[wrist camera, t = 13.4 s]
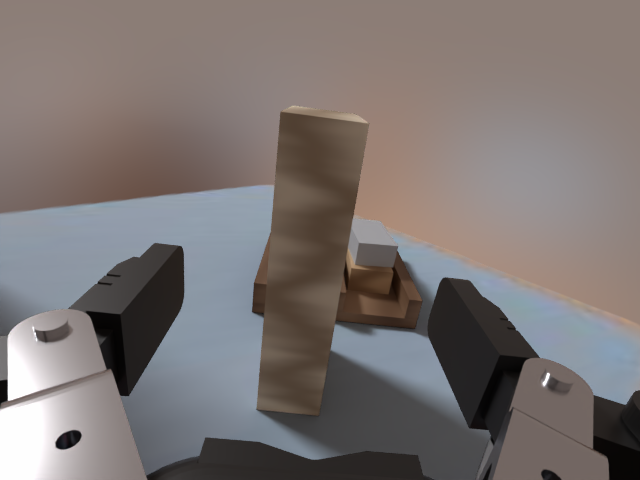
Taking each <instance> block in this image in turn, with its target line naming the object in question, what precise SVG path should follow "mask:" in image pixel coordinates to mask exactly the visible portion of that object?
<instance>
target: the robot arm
mask: <svg viewBox="0 0 640 480" xmlns="http://www.w3.org/2000/svg"><path fill="white" fill-rule="evenodd" d="M183 299H184V253H183V248H182V247H181V246H176V245H167V244H159V243H154V244H153V245H152V246H151V247H150V248H149V249H148V250H147V251H146V252H145V253H144V254H143V255H142V256H141V257H140V258H139V257H132V258H130V259H128V260H126V261H124V262H121V263H119V264H117V265H116V266H115V267H114V268H113V269H112V270H110V271H109V272H108V273H107V276H104V277H103V278H102V279H100V280H99V281H98V284H95V285H94V286H93V287H92V288H91V289H89V290H88V291H87V292H86V293H85V294H84V295H83V296H82V297H81V298H79V299H78V300H77V301H76V302H75V303H74V304H73V305H72V306H71V307H69V308H68V309H60V310H52V311H47V312H43V313H40V314H37V315H34V316H32V317H30V318H27V319H26V320H24V321H22V322H21V323H19V324H18V325H16V326H15V327H14V328H13V329H12V330H11V331H10V333H9V335H8V336H0V480H434V479H432V478H429V477H427V476H424V475H423V473H422V469H421V466H420V462H419V458H418V455H406V454H395V453H383V452H371V451H365V452H360V453H354V454H348V455H343V456H337V457H331V458H326V459H320V460H311V459H307V458H304V457H301V456H298V455H295V454H293V453H290V452H287V451H284V450H281V449H278V448H275V447H272V446H269V445H266V444H263V443H260V442H252V441H241V440H229V439H217V438H205V441H204V444H203V447H202V450H201V453H200V456H198V457H192V458H188V459H185V460H181V461H178V462H175V463H172V464H170V465H167V466H165V467H162V468H160V469H159V470H157V471H155V472H153V473H151V474H149V475H147V476H146V475H145V471H144V468H143V465H142V462H141V459H140V456H139V453H138V450H137V447H136V444H135V441H134V438H133V434H132V431H131V428H130V425H129V422H128V419H127V416H126V413H125V410H124V407H123V404H122V400H121V397H120V395H121V396H129V395H130V393H131V391H132V390H133V388H134V386H135V385H136V383H137V382H138V380H139V378H140V377H141V375H142V373H143V372H144V370H145V368H146V367H147V365H148V363H149V362H150V360H151V358H152V357H153V355H154V353H155V352H156V350H157V348H158V347H159V345H160V343H161V342H162V340H163V338H164V337H165V335H166V333H167V332H168V330H169V328H170V327H171V325H172V323H173V322H174V320H175V318H176V317H177V315H178V313H179V312H180V309H181V307H182V303H183ZM428 336H429V339H430V341H431V344H432V346H433V348H434V350H435V353H436V355H437V357H438V359H439V362H440V364H441V366H442V368H443V371H444V373H445V375H446V377H447V380H448V382H449V384H450V386H451V389H452V391H453V393H454V395H455V398H456V400H457V402H458V404H459V407H460V409H461V411H462V413H463V416H464V418H465V420H466V422H467V424H468V427H469V428H473V429H484V430H489V432H490V434H491V436H490V439H489V441H488V443H487V445H486V448H485V451H484V454H483V457H482V459H481V462H480V465H479V468H478V471H477V474H476V477H475V480H640V390H638V391H635V392H634V393H633V395H632V396H631V398H630V399H629V401H628V402H627V404H626V405H623V404H620V403H617V402H614V401H611V400H607V399H604V398H601V397H598V396H595V395H593V392H592V390H591V388H590V386H589V385H588V384H587V383H586V382H585V381H584V380H583V379H582V378H581V377H580V376H579V375H577V374H576V373H575V372H573V371H572V370H570V369H568V368H567V367H565V366H563V365H561V364H559V363H556V362H554V361H551V360H547V359H543V358H540V357H539V356H538V355H537V353H536V352H535V351H534V350H533V349H532V347H531V346H530V345H529V344H528V342H527V341H526V340H525V339H524V338H523V336H522V335H521V334H520V333H519V332H518V331H516V328H515V327H514V325H513V324H512V323H511V322H510V321H508V318H507V317H506V316H505V314H504V313H503V312H502V311H501V310H500V308H499V307H497V306H496V305H494V304H493V303H492V302H490V301H489V300H487V299H486V298H485V297H482V295H481V294H480V293H479V292H478V290H477V289H476V288H475V287H474V285H473V284H472V283H471V282H470V281H469V280H463V279H454V278H446V277H445V278H443V279H442V280H441V282H440V284H439V287H438V290H437V294H436V297H435V300H434V303H433V307H432V310H431V313H430V317H429V320H428Z"/></svg>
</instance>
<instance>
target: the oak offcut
mask: <svg viewBox="0 0 640 480" xmlns="http://www.w3.org/2000/svg"><path fill="white" fill-rule="evenodd" d="M344 270H345V277H346V283H347V290H351V291H361V292H370V293H379V294H389V290H390V286H391V281H392V277H393V270H392V268H391V267H379V266H366V265H355V264H354V261H353V259H352V256H351V254H350V251H349V249H348V250H347V256H346V262H345V268H344Z"/></svg>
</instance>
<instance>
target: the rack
mask: <svg viewBox="0 0 640 480" xmlns="http://www.w3.org/2000/svg"><path fill="white" fill-rule="evenodd" d="M270 237H271V233H270V236H269V239H268V242H267V245H266V248H265V251H264V254H263V257H262V260H261V263H260V266H259V270H258V273H257V276H256V279H255V282H254V292H253V307H252V312H258V313H264V311H265V298H266V286H267V274H268V261H269V249H270ZM391 268H392V270H393V277H392V281H391V286H390V290H389V294H379V293H370V292H361V291H351V290H347V283H346V277H345V270H344V273H343V279H342V285H341V291H340V297H339V302H338V308H337V314H336V320H335V321H345V322H355V323H364V324H374V325H384V326H393V327H403V328H413V329H415V327H416V323H417V319H418V316H419V312H420V308H421V305H422V299H421V297H420V295H419V293H418V291H417V289H416V287H415V285H414V283H413V281H412V279H411V277H410V275H409V273H408V271H407V269H406V267H405V265H404V263H403V261H402V259H401V257H400V255H399V253H398V251H397V253H396V258H395V262H394V266H393V267H391Z"/></svg>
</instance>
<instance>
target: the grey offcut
mask: <svg viewBox="0 0 640 480" xmlns="http://www.w3.org/2000/svg"><path fill="white" fill-rule="evenodd" d="M348 249H349V251H350V254H351V256H352V259H353V261H354V264H355V265H366V266H379V267H393V266H394V262H395V258H396V253H397V249H398V245H397V244H396V242H395V241H394V240H393V238H392V237H391V235H390V234H389V233H388V231H387V230H386V228H385V227H384V226H383V224H382V223H381V221H374V220H363V219H353V221H352V227H351V233H350V238H349V244H348Z"/></svg>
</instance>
